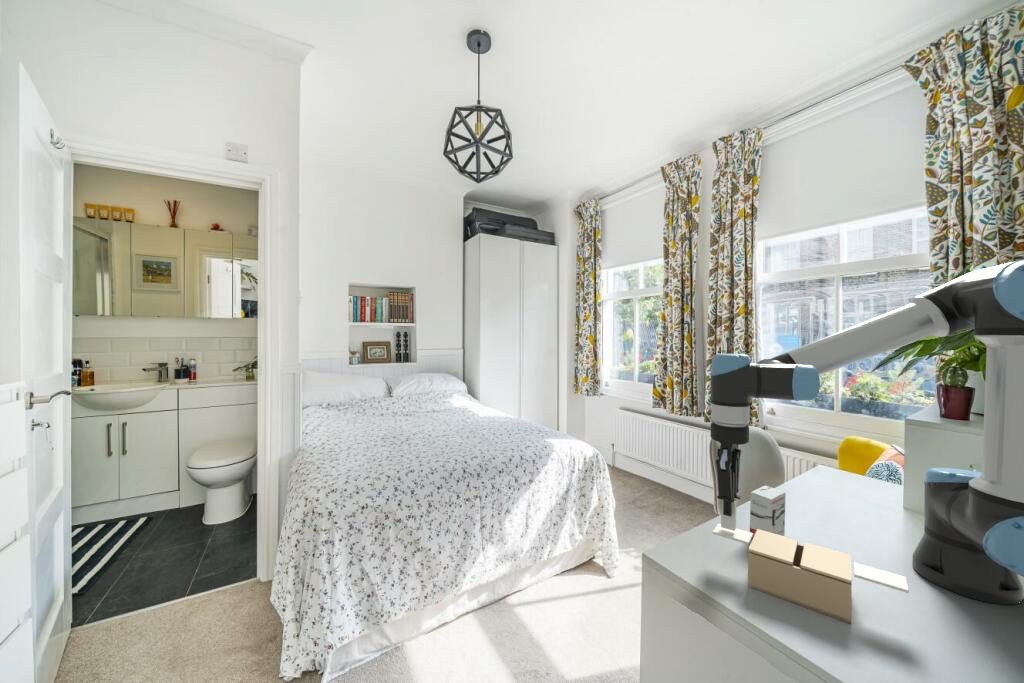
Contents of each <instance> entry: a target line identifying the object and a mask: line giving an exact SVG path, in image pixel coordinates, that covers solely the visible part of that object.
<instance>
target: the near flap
mask: <svg viewBox="0 0 1024 683" xmlns="http://www.w3.org/2000/svg"><path fill="white" fill-rule="evenodd" d="M803 545H804V549H803V554H802V559H801V564H800V567H801V568H804V569H807V570H810V571H814V572H817V573H820V574H823V575H826V576H830V577H833V578H836V579H839V580H842V581H845V582H849V583H852V581H853V580H852V577H853V575H852V572H853V573H854V578H857V579H860V580H863V581H866V582H870V583H873V584H877V585H878V586H879V585H881V586H883V587H886V588H890V589H893V590H897V591H900V592H904V593H906V594H909V592H910V591H909V590H910V589H909V587H908V582H907V577H906V576H904V575H901V574H897V573H894V572H890V571H887V570H883V569H879V568H876V567H873V566H870V565H865V564H862V563H858V562H856V561H853V571H852V554H848V553H845V552H842V551H838V550H835V549H831V548H828V547H824V546H820V545H817V544H814V543H810V542H804V544H803Z"/></svg>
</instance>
